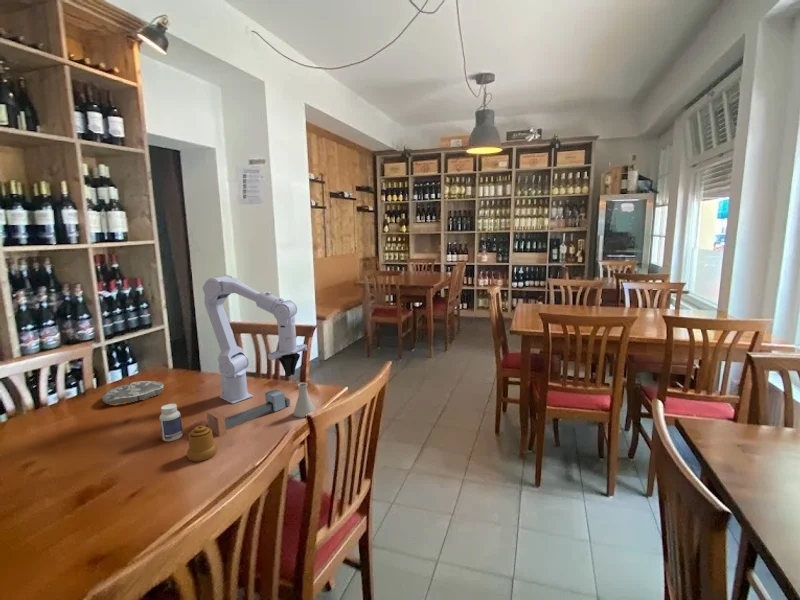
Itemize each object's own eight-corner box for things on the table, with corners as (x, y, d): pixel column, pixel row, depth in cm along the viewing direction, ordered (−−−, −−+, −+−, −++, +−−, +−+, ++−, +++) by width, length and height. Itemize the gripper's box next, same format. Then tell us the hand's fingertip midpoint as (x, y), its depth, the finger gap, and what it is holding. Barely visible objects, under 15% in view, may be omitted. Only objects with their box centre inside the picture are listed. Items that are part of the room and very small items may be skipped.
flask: (318, 408, 141) (316, 380, 139) (311, 418, 134) (309, 388, 132) (297, 408, 142) (295, 380, 140) (289, 418, 135) (287, 388, 133)
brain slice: (157, 384, 168) (156, 377, 168) (169, 395, 156) (168, 388, 156) (98, 398, 156) (96, 390, 155) (105, 412, 143) (104, 404, 143)
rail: (208, 429, 128) (206, 412, 128) (280, 401, 148) (279, 386, 147) (219, 436, 124) (217, 418, 123) (292, 406, 143) (291, 391, 142)
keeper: (266, 407, 142) (265, 392, 142) (276, 403, 145) (275, 389, 145) (275, 411, 139) (274, 396, 138) (285, 407, 142) (284, 392, 141)
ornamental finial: (220, 446, 118) (213, 461, 111) (192, 449, 117) (183, 464, 110) (218, 420, 117) (210, 432, 109) (189, 422, 116) (180, 435, 108)
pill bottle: (187, 434, 125) (183, 404, 124) (170, 443, 120) (166, 411, 119) (174, 431, 128) (170, 401, 126) (158, 439, 123) (154, 408, 121)
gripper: (275, 343, 135) (278, 383, 137) (311, 334, 146) (314, 371, 148) (263, 340, 140) (266, 379, 142) (299, 331, 151) (301, 367, 153)
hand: (290, 374), depth 145 cm, fingers closed
